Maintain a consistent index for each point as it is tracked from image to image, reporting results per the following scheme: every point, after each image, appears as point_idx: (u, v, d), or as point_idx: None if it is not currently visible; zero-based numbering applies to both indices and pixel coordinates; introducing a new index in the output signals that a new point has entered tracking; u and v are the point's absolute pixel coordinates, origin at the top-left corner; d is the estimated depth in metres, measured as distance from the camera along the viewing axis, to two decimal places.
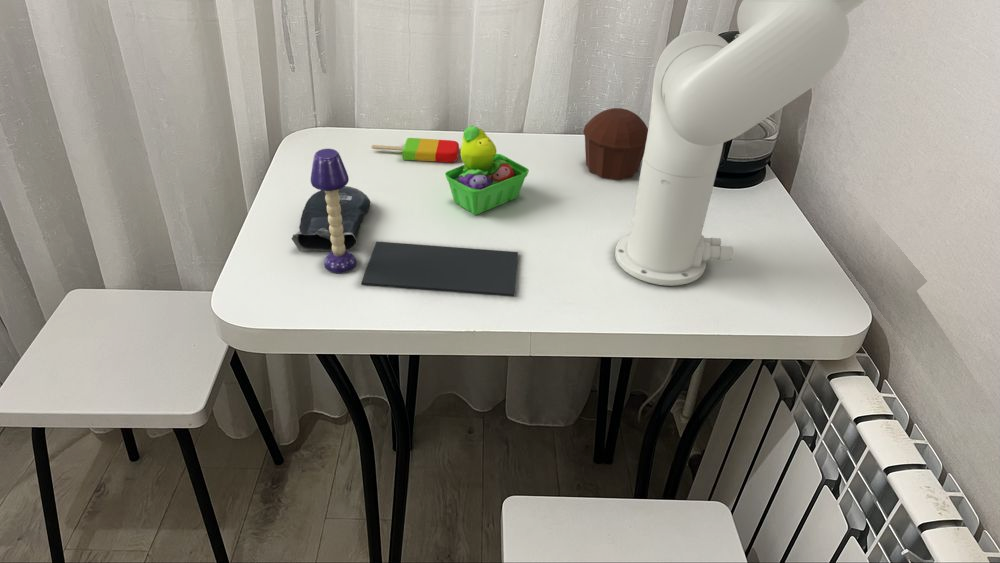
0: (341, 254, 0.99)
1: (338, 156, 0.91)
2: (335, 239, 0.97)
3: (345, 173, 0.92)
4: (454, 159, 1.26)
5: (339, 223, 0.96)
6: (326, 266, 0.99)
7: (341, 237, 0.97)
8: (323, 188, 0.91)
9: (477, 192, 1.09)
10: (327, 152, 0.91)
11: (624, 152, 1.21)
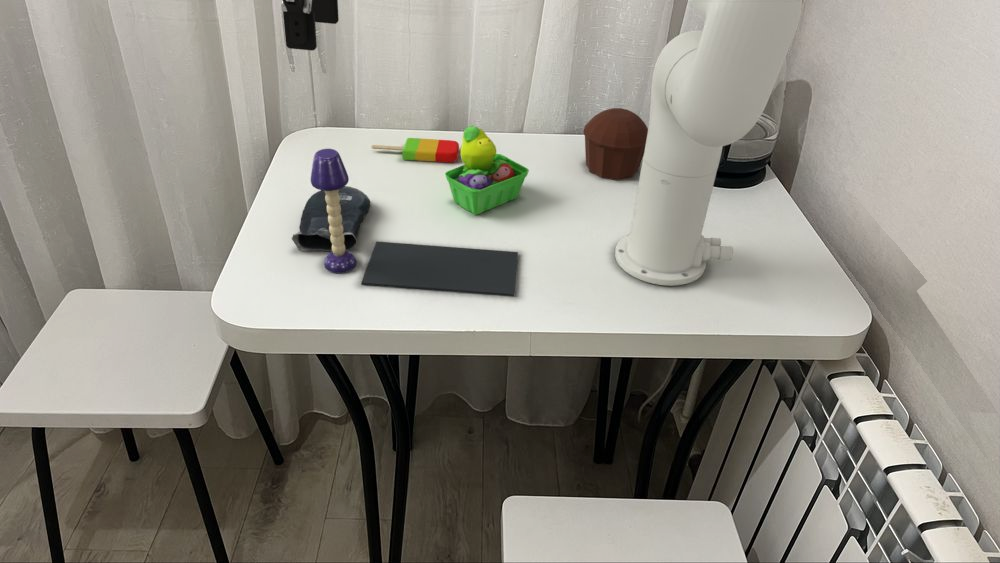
0: (341, 254, 0.99)
1: (338, 156, 0.91)
2: (335, 239, 0.97)
3: (345, 173, 0.92)
4: (454, 159, 1.26)
5: (339, 223, 0.96)
6: (326, 266, 0.99)
7: (341, 237, 0.97)
8: (323, 188, 0.91)
9: (477, 192, 1.09)
10: (327, 152, 0.91)
11: (624, 152, 1.21)
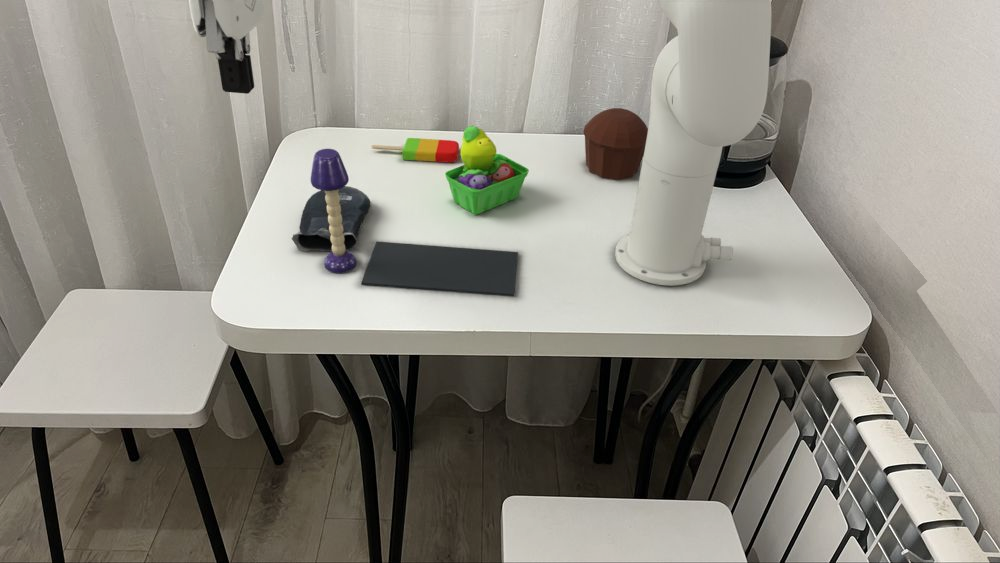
0: (341, 254, 0.99)
1: (338, 156, 0.91)
2: (335, 239, 0.97)
3: (345, 173, 0.92)
4: (454, 159, 1.26)
5: (339, 223, 0.96)
6: (326, 266, 0.99)
7: (341, 237, 0.97)
8: (323, 188, 0.91)
9: (477, 192, 1.09)
10: (327, 152, 0.91)
11: (624, 152, 1.21)
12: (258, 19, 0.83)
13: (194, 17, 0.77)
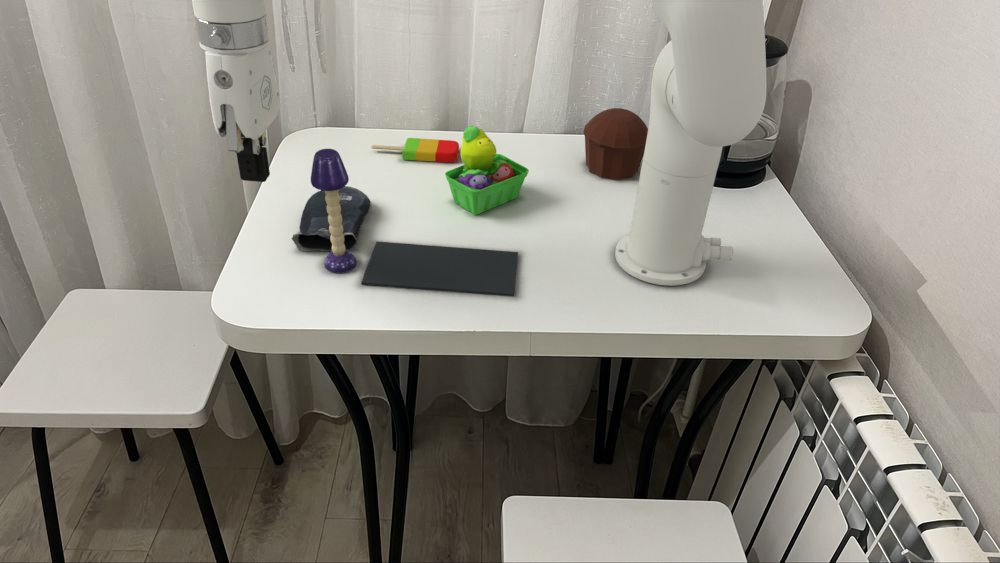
0: (341, 254, 0.99)
1: (338, 156, 0.91)
2: (335, 239, 0.97)
3: (345, 173, 0.92)
4: (454, 159, 1.26)
5: (339, 223, 0.96)
6: (326, 266, 0.99)
7: (341, 237, 0.97)
8: (323, 188, 0.91)
9: (477, 192, 1.09)
10: (327, 152, 0.91)
11: (624, 152, 1.21)
12: (273, 115, 0.90)
13: (216, 121, 0.84)
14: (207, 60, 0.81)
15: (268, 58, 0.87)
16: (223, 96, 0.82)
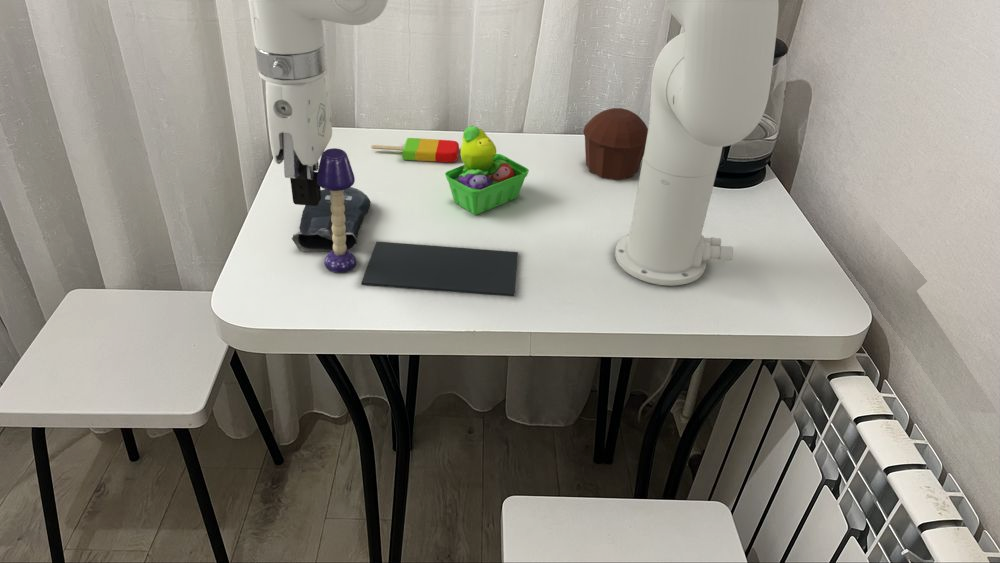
0: (342, 254, 0.99)
1: (346, 156, 0.91)
2: (337, 238, 0.97)
3: (352, 174, 0.92)
4: (454, 159, 1.26)
5: (342, 223, 0.96)
6: (326, 265, 0.99)
7: (343, 237, 0.97)
8: (329, 188, 0.91)
9: (477, 192, 1.09)
10: (335, 152, 0.91)
11: (624, 152, 1.21)
12: (327, 141, 0.91)
13: (274, 149, 0.85)
14: (267, 90, 0.82)
15: (323, 86, 0.88)
16: (282, 125, 0.84)
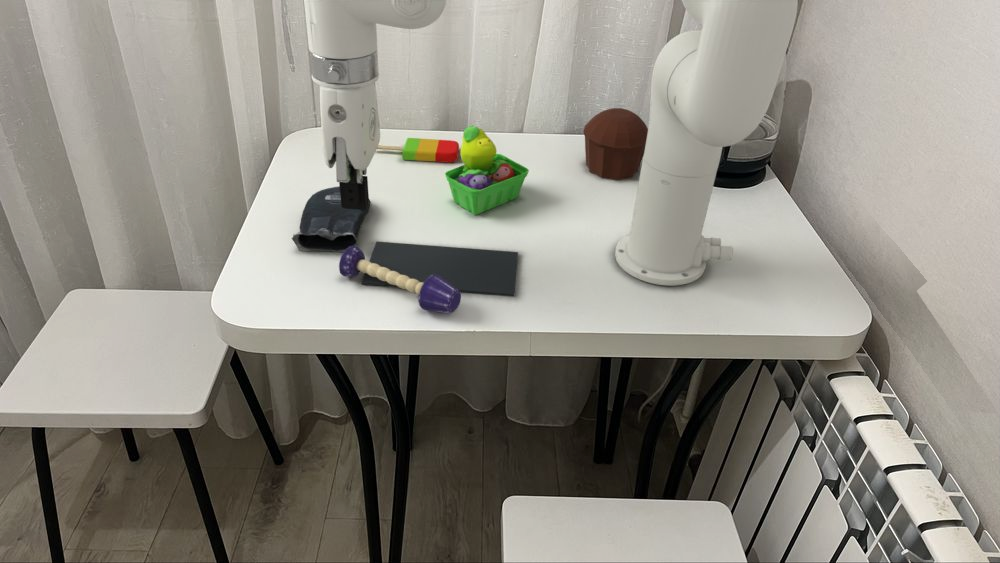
0: None
1: None
2: (374, 276, 0.96)
3: None
4: (454, 159, 1.26)
5: None
6: (342, 270, 0.96)
7: None
8: (424, 309, 0.92)
9: (477, 192, 1.09)
10: (456, 300, 0.91)
11: (624, 152, 1.21)
12: (376, 145, 0.91)
13: (326, 153, 0.85)
14: (322, 95, 0.82)
15: (374, 90, 0.88)
16: (336, 129, 0.83)
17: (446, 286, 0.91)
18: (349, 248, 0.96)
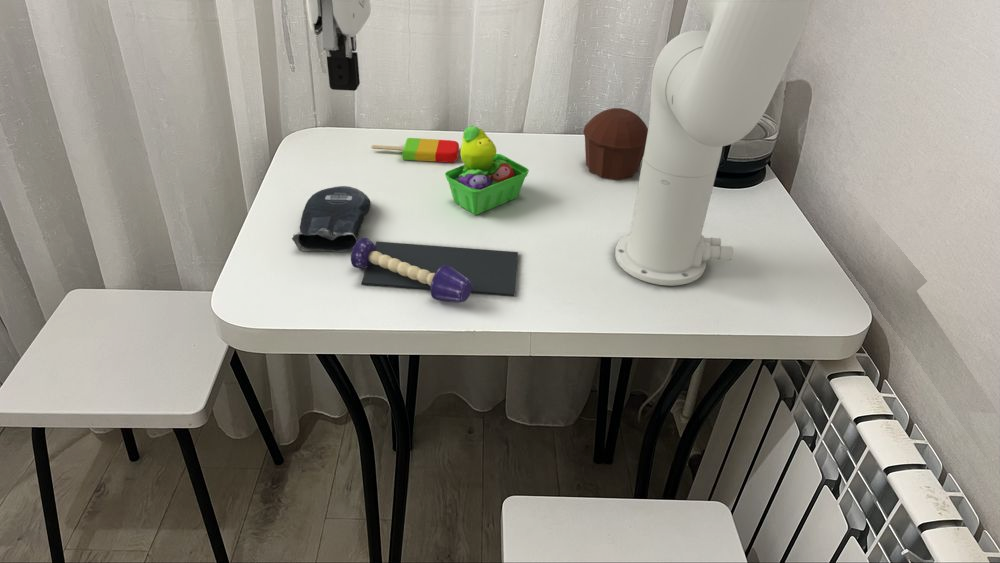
0: (369, 260, 0.98)
1: (463, 301, 0.94)
2: (384, 264, 0.97)
3: None
4: (454, 159, 1.26)
5: (400, 274, 0.97)
6: (357, 246, 0.97)
7: (386, 268, 0.98)
8: (432, 287, 0.92)
9: (477, 192, 1.09)
10: (467, 291, 0.93)
11: (624, 152, 1.21)
12: (366, 16, 0.84)
13: (311, 15, 0.78)
14: None
15: None
16: None
17: None
18: None
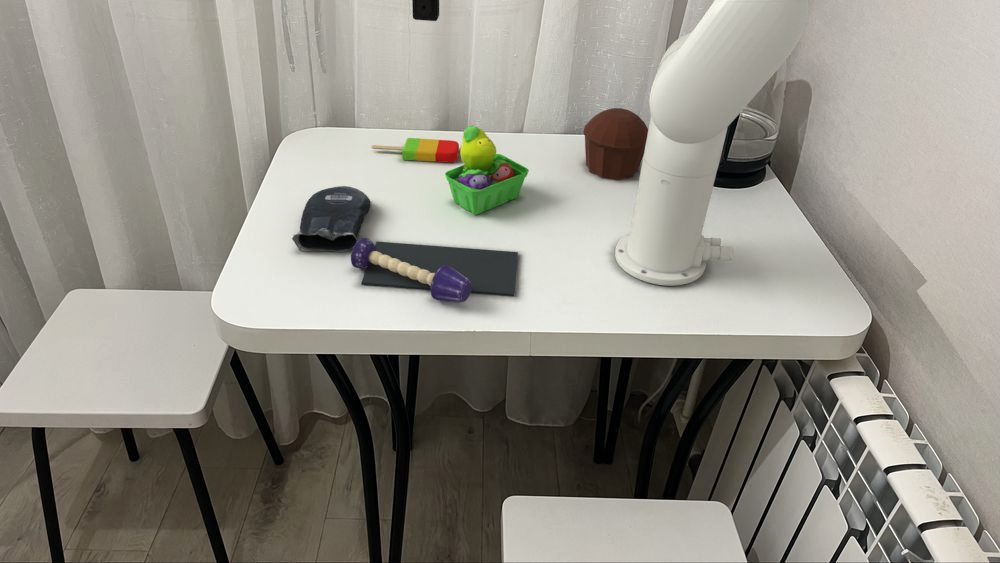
0: (369, 260, 0.98)
1: (463, 301, 0.94)
2: (384, 264, 0.97)
3: None
4: (454, 159, 1.26)
5: (400, 274, 0.97)
6: (357, 246, 0.97)
7: (386, 268, 0.98)
8: (432, 287, 0.92)
9: (477, 192, 1.09)
10: (467, 291, 0.93)
11: (624, 152, 1.21)
12: None
13: None
14: None
15: None
16: None
17: None
18: None
